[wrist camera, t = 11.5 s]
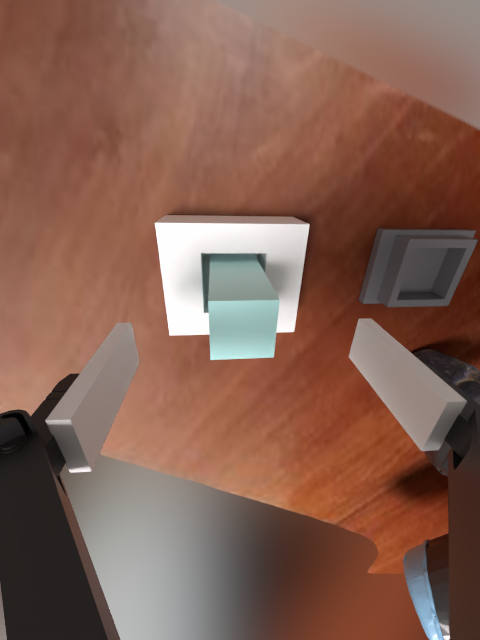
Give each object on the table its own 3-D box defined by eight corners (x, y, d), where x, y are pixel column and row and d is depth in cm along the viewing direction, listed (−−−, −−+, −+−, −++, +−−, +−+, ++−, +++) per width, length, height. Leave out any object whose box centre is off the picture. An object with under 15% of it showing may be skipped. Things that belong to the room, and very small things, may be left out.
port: (292, 216, 25) (309, 224, 20) (282, 309, 29) (294, 331, 25) (165, 214, 24) (155, 222, 19) (176, 311, 28) (169, 335, 24)
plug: (251, 249, 25) (279, 299, 14) (250, 288, 27) (273, 357, 16) (210, 249, 24) (208, 301, 14) (211, 288, 26) (210, 359, 16)
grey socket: (467, 229, 27) (495, 234, 24) (437, 298, 31) (458, 309, 28) (377, 228, 26) (396, 233, 23) (358, 300, 30) (372, 311, 27)
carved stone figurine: (363, 369, 35) (452, 481, 22) (450, 330, 33) (605, 428, 20) (372, 394, 38) (458, 508, 25) (454, 359, 36) (593, 463, 23)
